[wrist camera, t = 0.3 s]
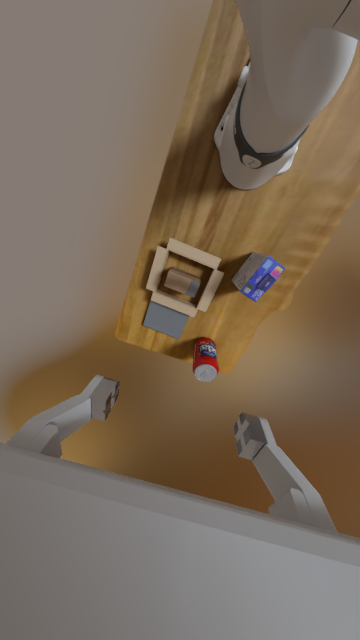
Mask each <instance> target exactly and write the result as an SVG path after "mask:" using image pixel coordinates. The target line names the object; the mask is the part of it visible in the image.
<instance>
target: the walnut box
mask: <svg viewBox="0 0 360 640" xmlns="http://www.w3.org/2000/svg"><path fill="white" fill-rule="evenodd" d="M164 286H166V287H168V288H171V289H173V290H176V291H178V292H181V293H183V294H186V295H188V296H190V297H193V298H194V297H195V295H196V293H197V290H198V288H199V286H200V277H197V276H195V275H192V274H190V273H188V272H185V271H183V270H180V269H178V268H175V267H173V268H171V269H170V270H169V272H168V275H167V278H166V281H165V284H164Z"/></svg>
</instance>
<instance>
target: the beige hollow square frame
mask: <svg viewBox="0 0 360 640" xmlns="http://www.w3.org/2000/svg"><path fill="white" fill-rule="evenodd" d="M170 251H172V252H174V253H177V254H179V255H182V256H184V257H187V258H189V259H191V260H194V261H196V262H199V263H201V264H203V265H206V266H208V267H211V268H213V270H212V272H211V275H210V277H209V279H208V281H207V283H206V286H205V288H204V290H203V292H202V294H201V297H200V299H199V301H198V303H197V305H196V304H193V303H191V302H188V301H186V300H183V299H181V298H178V297H176V296H173V295H171V294H168V293H166V292H163V291H161V290H158V287H159V284H160V281H161V278H162V275H163V272H164V268H165V265H166V262H167V259H168V256H169V253H170ZM220 261H221V259H220V258H218V257H216V256H213V255H211V254H208V253H206V252H204V251H201V250H199V249H196V248H194V247H192V246H189V245H187V244H184V243H182V242H180V241H177V240H175V239H172V238H170V239H169V242H168V246H167V249H165V248H163V247H160V246H158V247H157V251H156V254H155V258H154V261H153V265H152V268H151V272H150V275H149V279H148V283H147V286H146V289H149V290H151V291H153V294H152V297H151V301H154V302H156V303H159V304H162V305H164V306H167V307H169V308H172V309H174V310H177V311H179V312H182V313H184V314H187V315H189V316H192V317H195V315H196V313H197V311H198V309H199V310H201V311H204V312H206V310H207V308H208V306H209V304H210V302H211V300H212V298H213V296H214V294H215V292H216V290H217V288H218V286H219V284H220V282H221V280H222V277H223V275H224V273H223V272H221V271H218V270H217V268H218V265H219V263H220Z"/></svg>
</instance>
